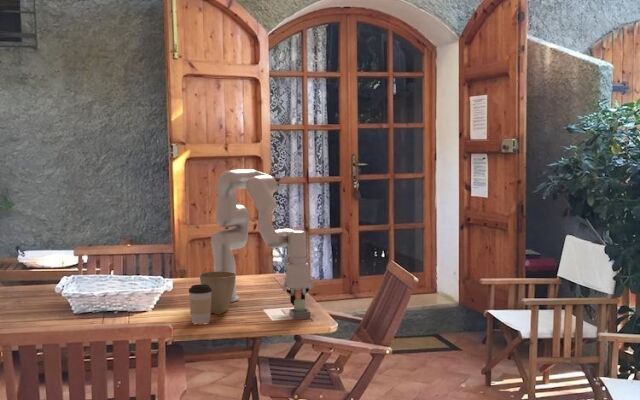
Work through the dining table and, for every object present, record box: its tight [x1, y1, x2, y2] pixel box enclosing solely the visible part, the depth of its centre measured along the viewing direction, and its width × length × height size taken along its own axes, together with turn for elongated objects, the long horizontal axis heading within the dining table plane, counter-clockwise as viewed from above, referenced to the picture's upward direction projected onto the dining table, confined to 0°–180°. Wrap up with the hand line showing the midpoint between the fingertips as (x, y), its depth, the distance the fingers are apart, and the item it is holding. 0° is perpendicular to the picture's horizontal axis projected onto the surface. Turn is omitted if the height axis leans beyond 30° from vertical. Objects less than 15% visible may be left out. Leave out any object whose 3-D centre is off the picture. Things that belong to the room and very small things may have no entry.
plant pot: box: [199, 271, 237, 315], centre depth 310 cm, size 15×15×16 cm
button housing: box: [289, 307, 312, 320], centre depth 299 cm, size 7×7×2 cm
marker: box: [294, 288, 302, 300], centre depth 308 cm, size 3×3×11 cm
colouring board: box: [263, 306, 313, 322], centre depth 304 cm, size 16×20×1 cm
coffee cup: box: [188, 283, 212, 325], centre depth 293 cm, size 9×9×15 cm
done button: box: [293, 299, 306, 312], centre depth 299 cm, size 4×4×5 cm
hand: (297, 303), depth 308 cm, fingers closed on marker, 3 cm apart
